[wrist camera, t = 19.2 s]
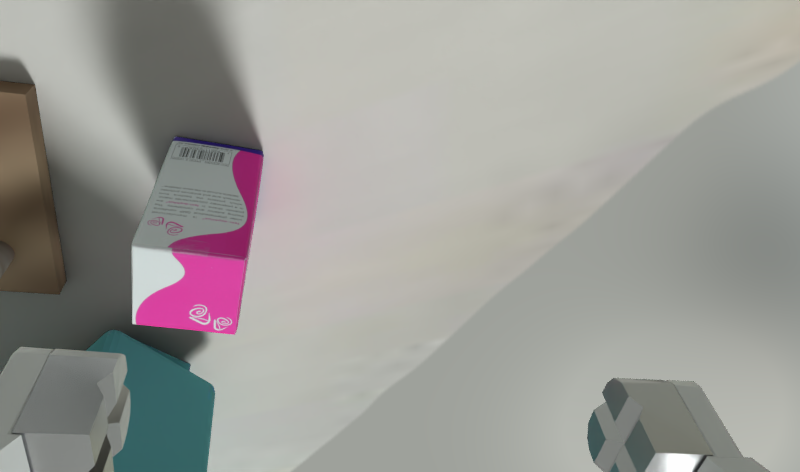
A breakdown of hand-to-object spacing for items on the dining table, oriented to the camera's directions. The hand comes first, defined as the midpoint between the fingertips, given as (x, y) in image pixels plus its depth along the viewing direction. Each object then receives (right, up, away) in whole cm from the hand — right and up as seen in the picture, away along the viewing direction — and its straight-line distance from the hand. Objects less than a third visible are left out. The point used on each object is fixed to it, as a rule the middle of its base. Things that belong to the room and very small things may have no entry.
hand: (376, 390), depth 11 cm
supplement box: (-12, +6, +33) cm, 35 cm away
